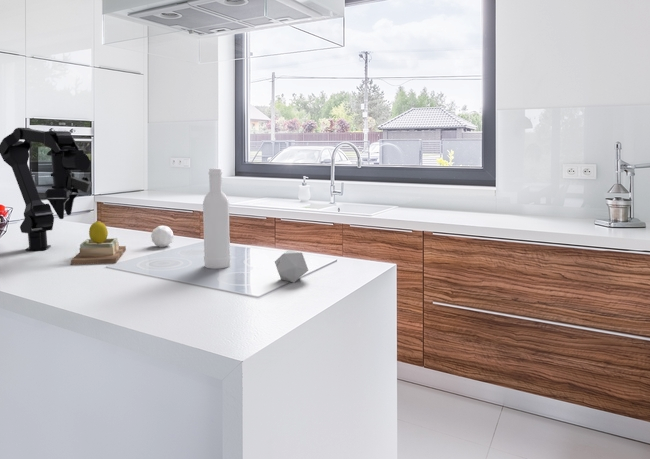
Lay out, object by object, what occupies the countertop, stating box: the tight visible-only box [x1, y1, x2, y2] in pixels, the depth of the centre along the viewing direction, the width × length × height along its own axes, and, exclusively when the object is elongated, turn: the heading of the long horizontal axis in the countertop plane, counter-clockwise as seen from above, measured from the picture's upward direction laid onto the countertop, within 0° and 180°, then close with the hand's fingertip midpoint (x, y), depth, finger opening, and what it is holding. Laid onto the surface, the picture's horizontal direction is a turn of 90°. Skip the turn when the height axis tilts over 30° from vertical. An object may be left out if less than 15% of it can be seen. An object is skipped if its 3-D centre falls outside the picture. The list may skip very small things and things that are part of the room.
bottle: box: [202, 167, 231, 270], centre depth 158 cm, size 8×8×30 cm
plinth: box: [70, 237, 127, 266], centre depth 171 cm, size 20×13×5 cm, turn 12°
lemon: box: [88, 220, 109, 244], centre depth 170 cm, size 6×6×8 cm
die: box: [274, 249, 309, 283], centre depth 145 cm, size 8×9×10 cm
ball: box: [150, 225, 174, 248], centre depth 189 cm, size 8×8×8 cm
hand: (65, 216), depth 173 cm, fingers open, 9 cm apart
